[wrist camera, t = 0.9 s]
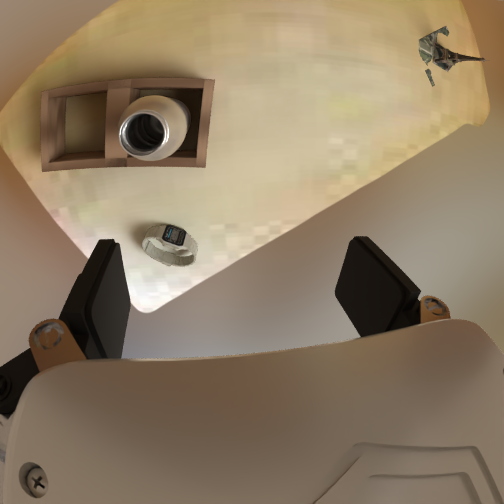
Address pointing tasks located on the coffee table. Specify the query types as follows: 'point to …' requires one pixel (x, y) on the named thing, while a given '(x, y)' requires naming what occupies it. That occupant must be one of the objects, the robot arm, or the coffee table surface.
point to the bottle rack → (117, 102)
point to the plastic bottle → (153, 127)
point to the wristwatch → (170, 245)
